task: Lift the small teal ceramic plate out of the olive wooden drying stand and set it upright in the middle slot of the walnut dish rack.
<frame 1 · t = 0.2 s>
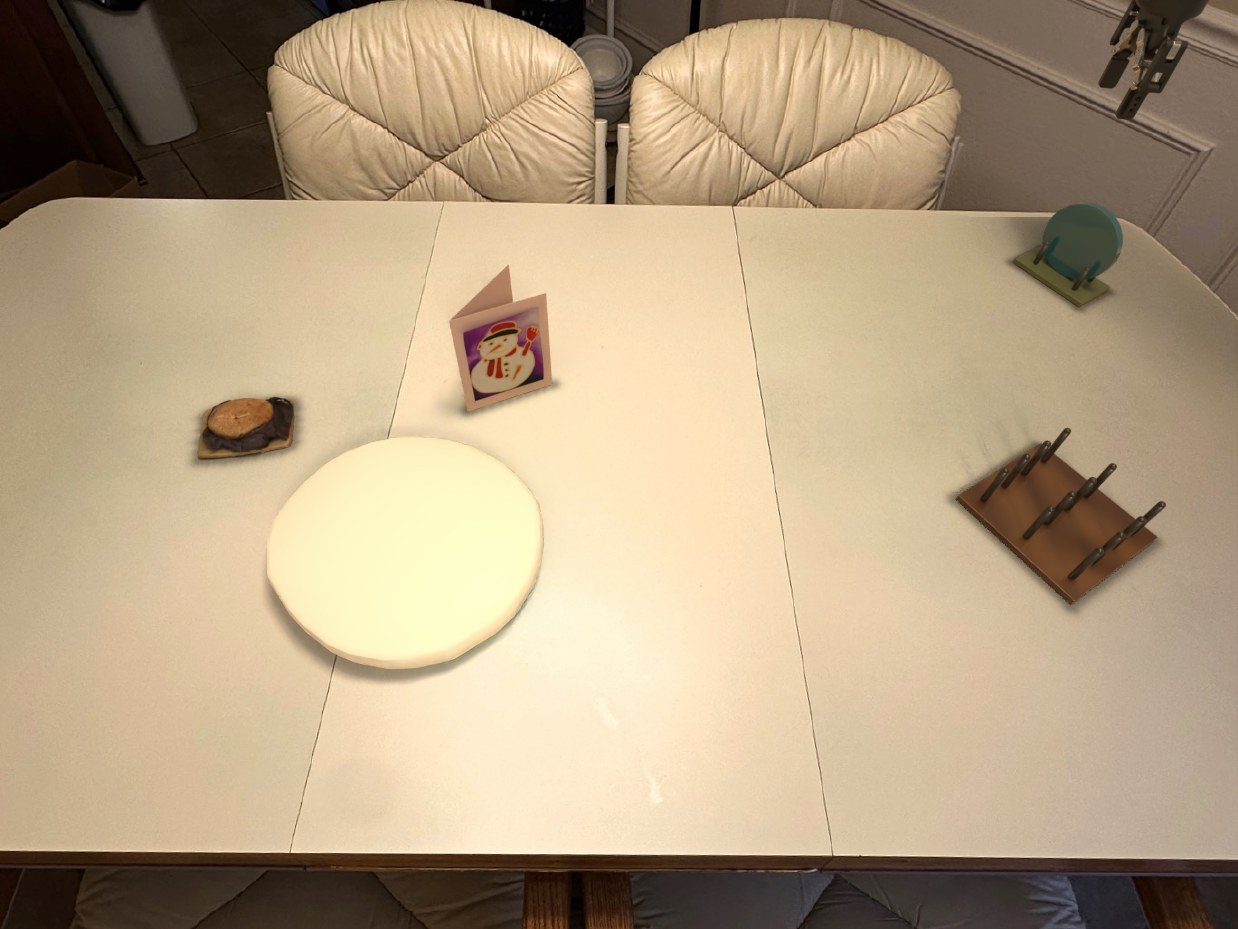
hand: (1113, 101, 100), 22 cm above the table, tool pointing down, fingers open, 8 cm apart
small plate: (1062, 272, 112), point 1 cm above the table, touching drying stand
brown piece: (248, 431, 90), on the table
drying stand: (1059, 276, 113), on the table
greeting card: (503, 383, 96), on the table
dish rack: (1053, 519, 86), on the table
plate: (415, 557, 80), on the table
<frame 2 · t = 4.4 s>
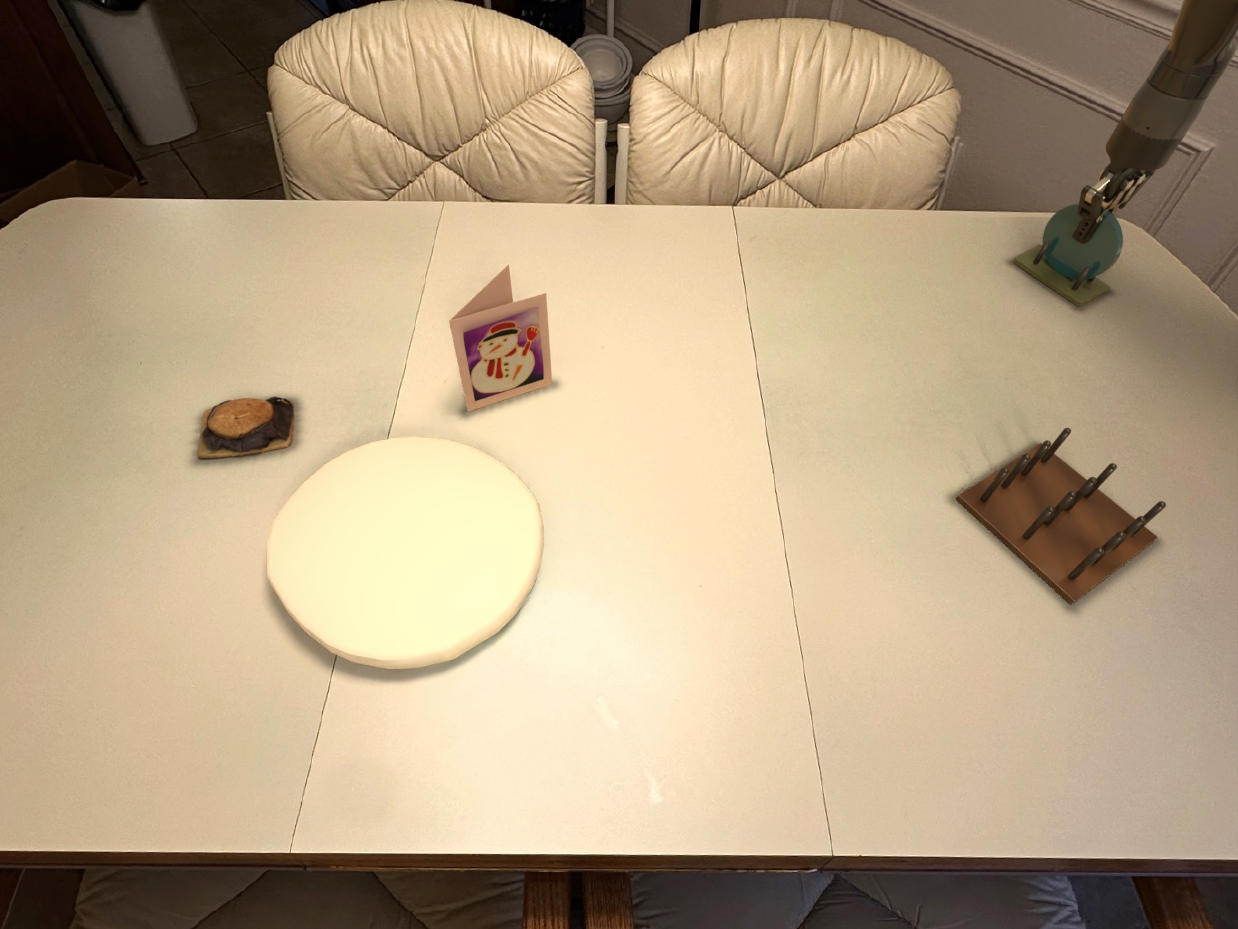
hand: (1083, 237, 107), 7 cm above the table, tool pointing down, fingers closed on small plate, 1 cm apart
small plate: (1062, 272, 112), point 1 cm above the table, touching drying stand, gripper
everything else where it was.
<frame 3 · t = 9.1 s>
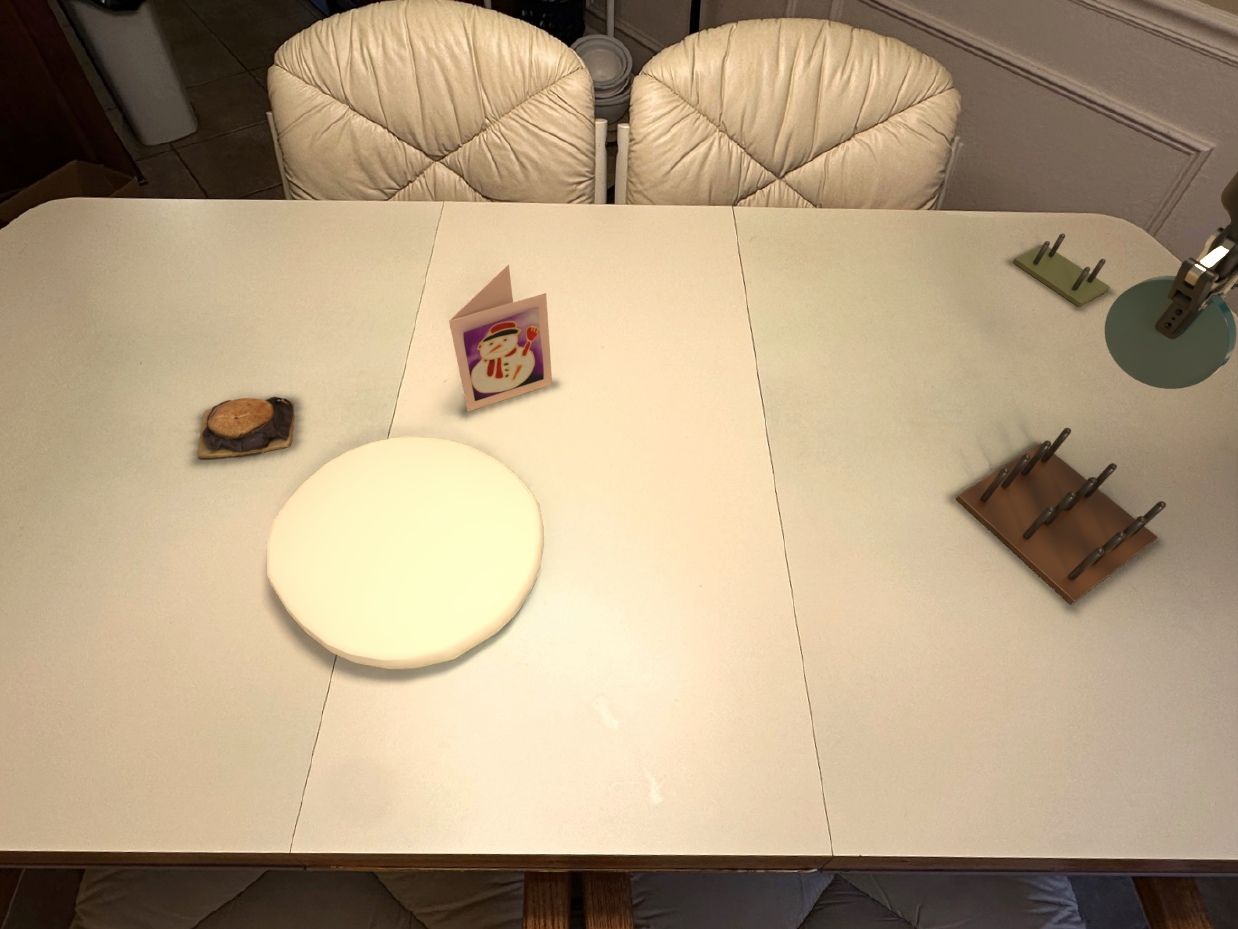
hand: (1171, 329, 71), 23 cm above the table, tool pointing down, fingers closed on small plate, 1 cm apart
small plate: (1132, 373, 76), point 17 cm above the table, touching gripper
everything else where it was.
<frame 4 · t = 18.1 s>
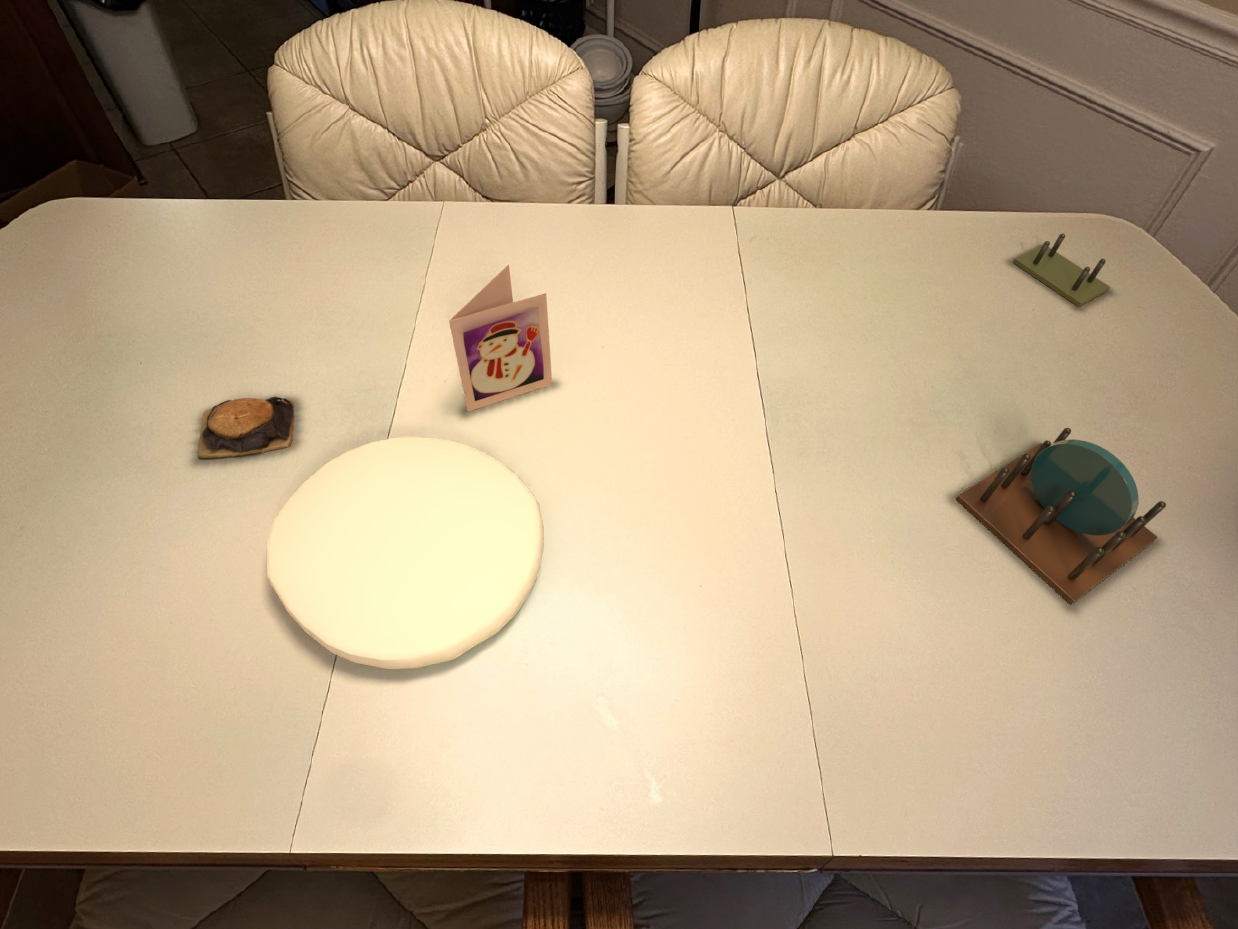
small plate: (1056, 515, 85), point 1 cm above the table, touching dish rack
everything else where it was.
at the end: small plate 0.1 cm off-centre on the dish rack, point 0.8 cm above the dish rack's base; small plate tilted 0°; the gripper is holding nothing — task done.
